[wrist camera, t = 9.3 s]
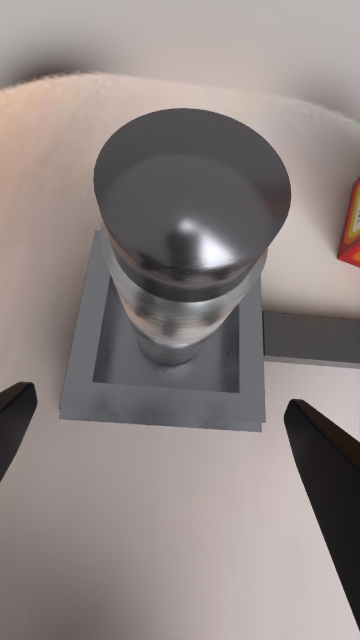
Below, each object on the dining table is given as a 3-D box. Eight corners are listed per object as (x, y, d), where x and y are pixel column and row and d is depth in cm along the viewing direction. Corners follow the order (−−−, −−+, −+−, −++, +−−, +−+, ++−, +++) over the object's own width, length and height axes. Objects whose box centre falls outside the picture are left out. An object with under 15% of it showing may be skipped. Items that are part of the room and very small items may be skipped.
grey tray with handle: (466, 444, 18) (534, 454, 15) (64, 417, 17) (41, 422, 13) (424, 283, 22) (471, 262, 19) (97, 249, 21) (86, 220, 17)
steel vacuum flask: (218, 343, 18) (348, 222, 6) (155, 377, 17) (144, 323, 4) (184, 286, 19) (229, 80, 7) (124, 315, 18) (43, 134, 6)
